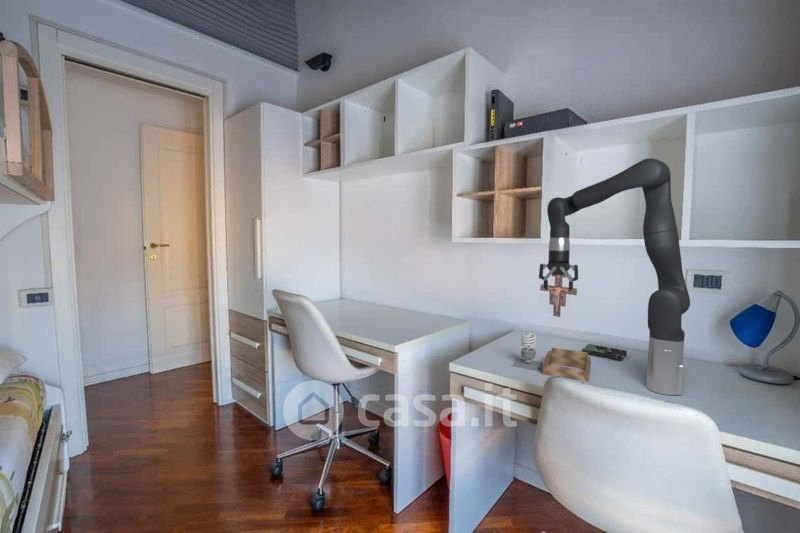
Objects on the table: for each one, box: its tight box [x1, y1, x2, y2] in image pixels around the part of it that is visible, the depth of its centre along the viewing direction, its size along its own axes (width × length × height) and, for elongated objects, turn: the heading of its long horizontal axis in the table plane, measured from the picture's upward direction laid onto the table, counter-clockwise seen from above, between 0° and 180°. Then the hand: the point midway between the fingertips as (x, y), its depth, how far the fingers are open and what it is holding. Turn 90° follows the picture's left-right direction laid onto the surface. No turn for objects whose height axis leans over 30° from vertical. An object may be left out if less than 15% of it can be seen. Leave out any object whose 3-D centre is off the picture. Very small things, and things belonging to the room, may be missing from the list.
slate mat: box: [512, 357, 543, 371], centre depth 148 cm, size 9×9×1 cm
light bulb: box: [520, 331, 537, 363], centre depth 147 cm, size 6×6×12 cm
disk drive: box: [581, 343, 628, 362], centre depth 161 cm, size 10×3×15 cm
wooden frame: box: [541, 347, 592, 383], centre depth 141 cm, size 15×15×6 cm
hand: (557, 290), depth 151 cm, fingers open, 8 cm apart
